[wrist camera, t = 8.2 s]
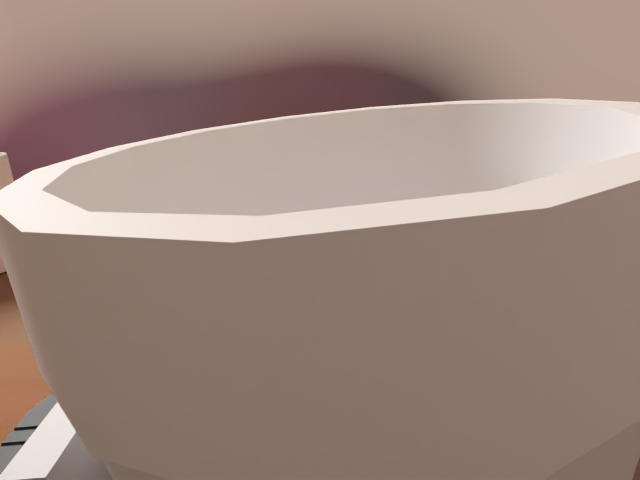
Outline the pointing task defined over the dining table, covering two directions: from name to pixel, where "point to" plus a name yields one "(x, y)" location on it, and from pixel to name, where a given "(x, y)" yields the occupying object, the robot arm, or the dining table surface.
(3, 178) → the white cup
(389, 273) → the foam cup
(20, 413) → the dining table surface
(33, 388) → the dining table surface
